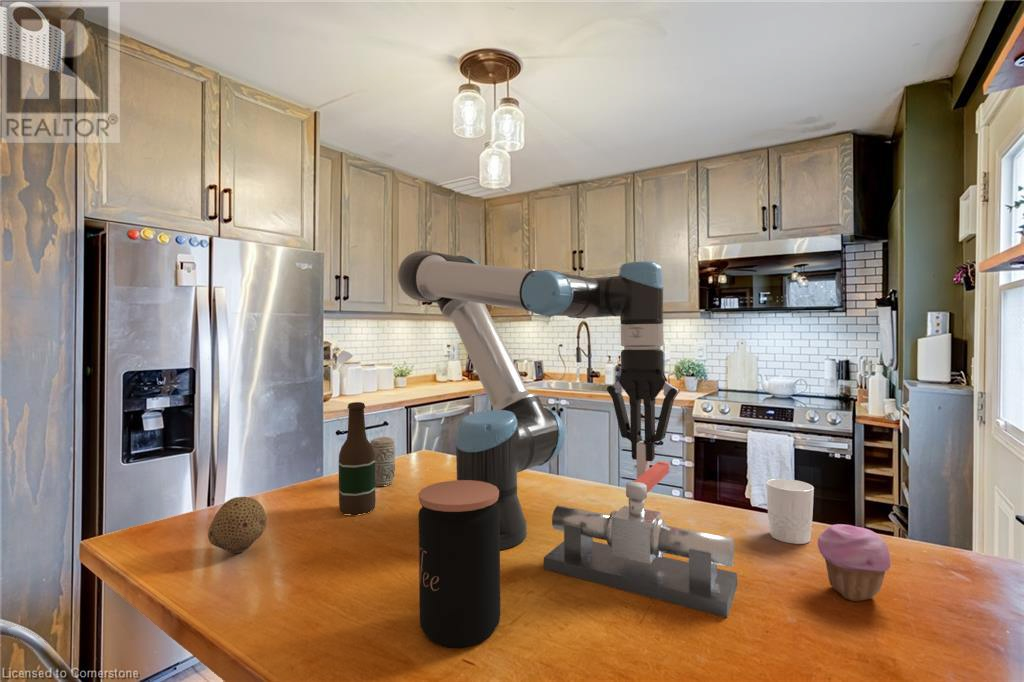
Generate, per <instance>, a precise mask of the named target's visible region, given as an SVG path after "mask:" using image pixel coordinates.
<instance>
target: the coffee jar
mask: <svg viewBox="0 0 1024 682" xmlns="http://www.w3.org/2000/svg"><path fill="white" fill-rule="evenodd" d="M498 497H499V490H498V488H497V487H496V486H494V485H492V484H490V483H486V482H482V481H473V480H457V479H455V480H447V481H441V482H440V481H439V482H436V483H433V484H429V485H427V486H425V487H423V488H422V489H421V490H420V491H419V492H418V501H419V502H418V503H419V504H420V505H421V507H420V508H419V511H418V514H417V515H418V580H419V581H418V583H419V584H418V587H419V591H418V592H419V593H418V594H419V597H418V599H419V627H420V629H421V631H422V632H423V633H424V634H425V636H426V637H427V639H428V640H429V641H430V642H431V643H433V644H435V645H436V646H439V647H443V648H444V647H445V648H447V649H462V648H463V649H464V648H470V647H474V646H476V645H479V644H482V643H483V642H484V641H486V640H488V639H489V638H490V637H492V634H493V633H494V632H495V630H496V629H497V627H498V626H499V624H500V621H501V620H500V619H501V550H500V512H499V507H498V506H497V504H496V501H497V500H498Z"/></svg>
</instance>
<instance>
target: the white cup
mask: <svg viewBox="0 0 1024 682" xmlns="http://www.w3.org/2000/svg"><path fill="white" fill-rule="evenodd" d="M765 487H766V505H767V518H768V526H769V527H768V528H769V535H770V537H772V538H773V539H774V540H778V541H780V542H782V543H786V544H794V545H805V544H808V543H810V541H811V539H812V538H811V536H812V526H813V515H814V514H813V513H814V511H813V510H814V493H815V491H814V490H815V487H814V486H813V485H812V484H810V483H807V482H805V481H801V480H796V479H790V478H773V479H768V480H766V482H765Z"/></svg>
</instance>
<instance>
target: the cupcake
mask: <svg viewBox="0 0 1024 682" xmlns="http://www.w3.org/2000/svg"><path fill="white" fill-rule="evenodd" d="M817 549H818V550H819V553H820V555H822V557H823V558H824V560H825V566H826V567H825V568H826V571H827V579H828V582H829V585H830V586H831V587H832V588H833V589H834V590H835V591H836V592H838V593H839V594H841V596H842V597H843V598H845V599H846V600H849V601H851V602H859V601H865V600H870V599H873V598H874V597H875V596H876V595H877V594H878V593H879V591H880V590H881V589H882V588H881V587H882V585H883V581H884V579H885V574H886V571H888V570H889V569H890V568H891V556H890V555H891V554H890V550H889V548H888V546H887V544H886V542H885V540H884V539H883V538H882V537H881V536H880V535H879V534H878V533H876V532H874V531H873V530H871V529H868V528H865V527H859V526H855V525H852V524H842V523H841V524H839V523H837V524H832V525H829V527H827V528H825V530H824V531H823V532H822V533H820V535H818V538H817Z"/></svg>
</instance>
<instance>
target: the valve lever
mask: <svg viewBox="0 0 1024 682" xmlns="http://www.w3.org/2000/svg"><path fill="white" fill-rule="evenodd" d="M669 473H670V463H669V462H666V461H657V462H656V463H654V464H653V465H652V466H651V467H649V469H648V470H647V471H646V472H645V473H643V474H642V475H641V476H640V477H638V478H637V477H636V479H634V480H633V481H630V482H627V483H625V496H626V498H628V499H629V498H630V499H637V500H640V499H644V500H645V499H647V498H648V496H647V495H648V493H649V492H650V491H651V490H652V489H653V488H655V487H656V486H657V485H658V484H659V482H661V481H662V479H664V478H665V477H666V476H667V475H668V474H669Z"/></svg>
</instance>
